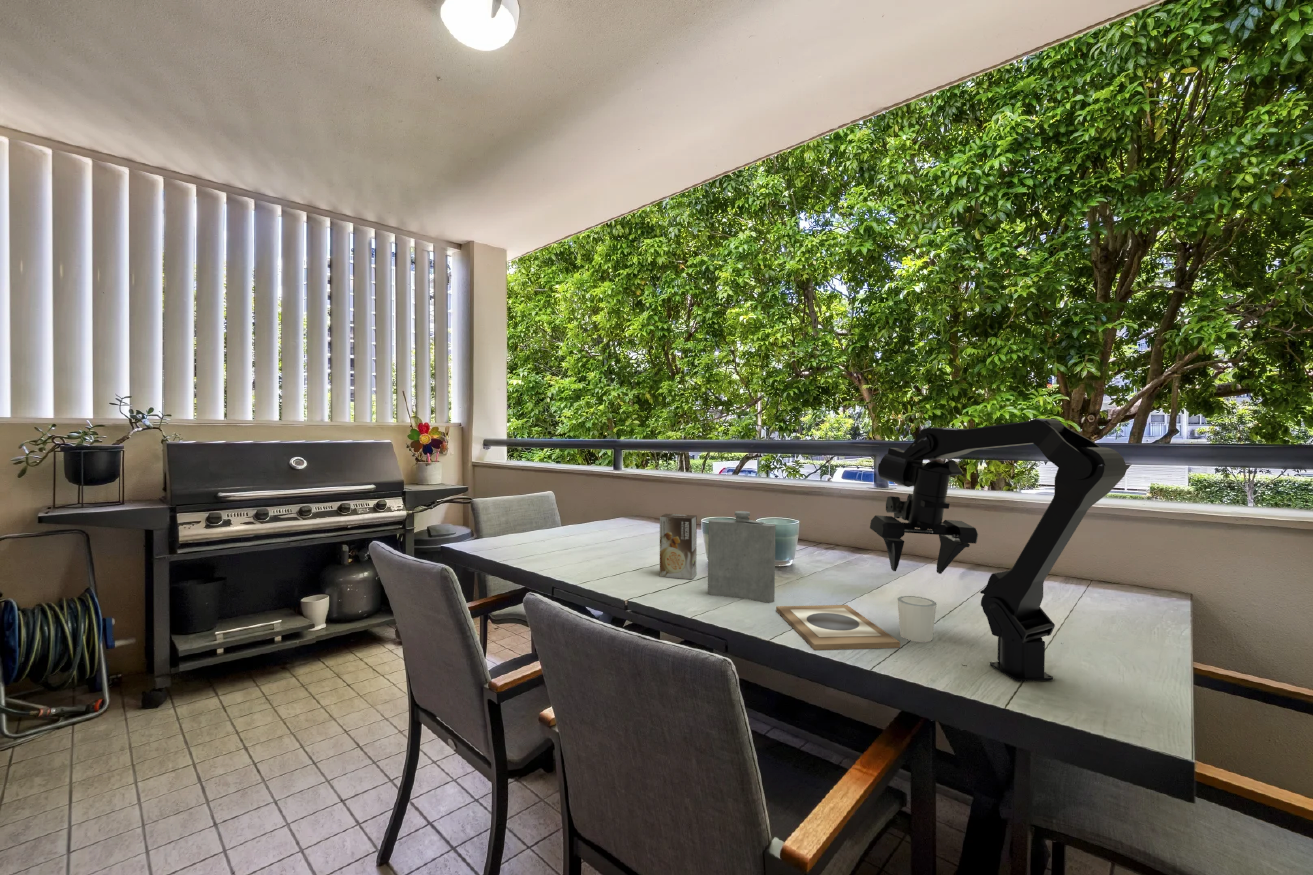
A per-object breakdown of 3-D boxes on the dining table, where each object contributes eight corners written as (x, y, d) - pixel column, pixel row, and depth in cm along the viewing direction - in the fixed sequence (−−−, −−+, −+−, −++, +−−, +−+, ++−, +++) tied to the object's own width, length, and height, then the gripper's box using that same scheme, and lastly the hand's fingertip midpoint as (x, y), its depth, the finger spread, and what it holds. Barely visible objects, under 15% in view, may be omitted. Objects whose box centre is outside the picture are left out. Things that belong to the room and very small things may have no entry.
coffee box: (697, 574, 154) (698, 514, 154) (692, 579, 148) (692, 518, 148) (665, 571, 157) (665, 513, 157) (658, 576, 151) (659, 516, 151)
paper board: (899, 647, 103) (900, 640, 103) (814, 649, 102) (814, 642, 102) (847, 609, 125) (847, 603, 125) (776, 610, 124) (776, 604, 124)
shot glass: (940, 645, 105) (941, 607, 105) (900, 641, 106) (901, 604, 106) (930, 632, 112) (931, 596, 112) (893, 629, 113) (893, 594, 113)
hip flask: (705, 594, 135) (706, 510, 135) (711, 590, 139) (712, 508, 139) (772, 603, 129) (774, 515, 129) (776, 598, 133) (777, 512, 132)
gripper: (951, 486, 116) (938, 558, 119) (863, 479, 115) (852, 553, 117) (986, 501, 105) (971, 580, 108) (890, 494, 104) (877, 575, 106)
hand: (916, 571), depth 110 cm, fingers open, 9 cm apart
